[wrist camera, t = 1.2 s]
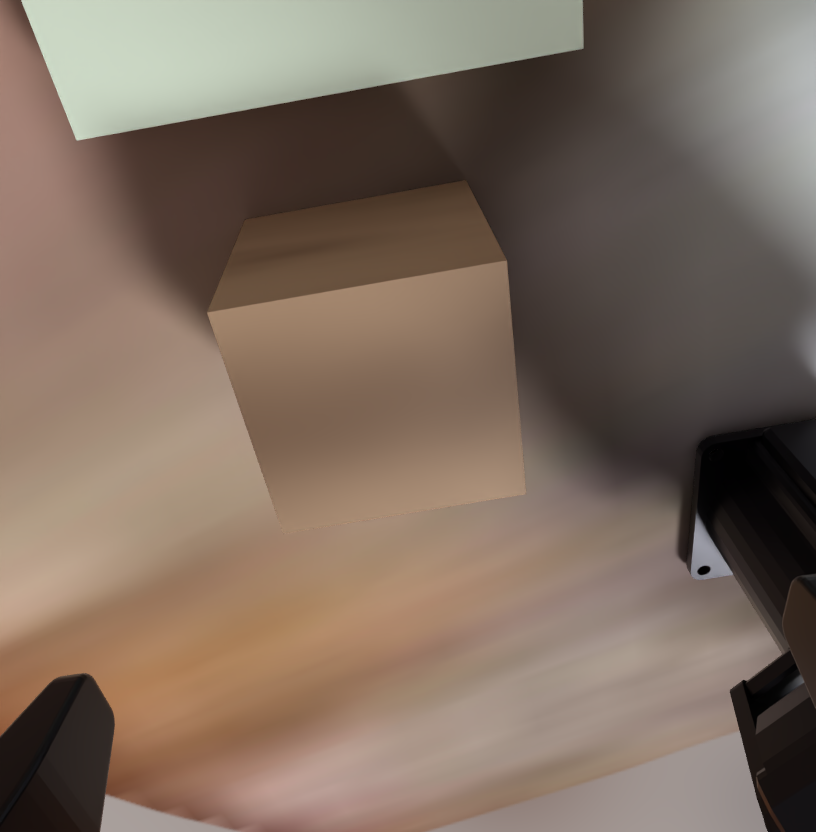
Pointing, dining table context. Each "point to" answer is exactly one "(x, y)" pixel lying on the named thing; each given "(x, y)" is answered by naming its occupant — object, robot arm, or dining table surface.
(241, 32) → the base
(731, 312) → the dining table surface
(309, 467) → the walnut cube
